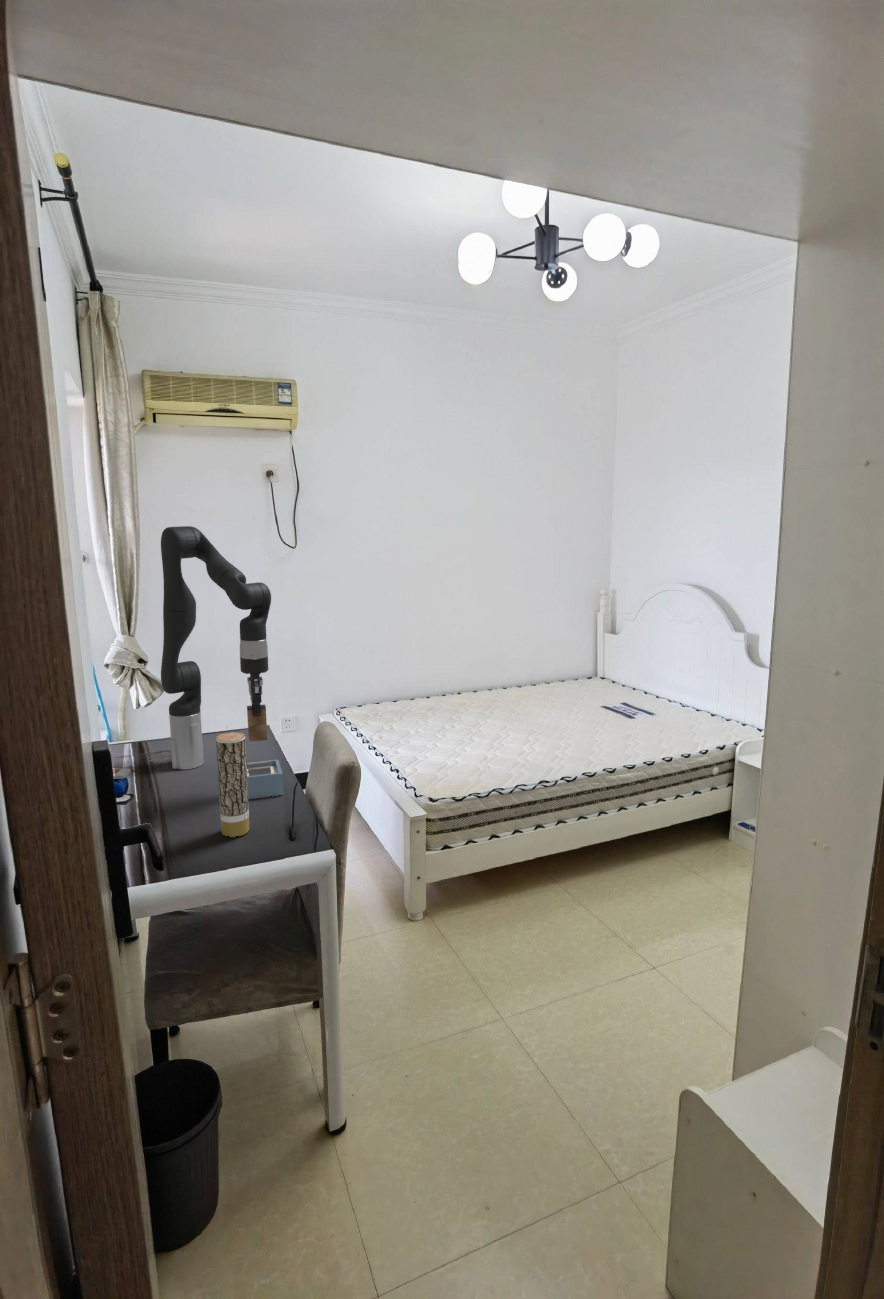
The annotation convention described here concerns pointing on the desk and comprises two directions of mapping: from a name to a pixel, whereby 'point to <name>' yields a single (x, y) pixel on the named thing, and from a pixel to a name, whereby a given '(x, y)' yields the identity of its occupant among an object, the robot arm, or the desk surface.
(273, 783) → the blue open box
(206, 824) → the desk surface
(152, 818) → the desk surface
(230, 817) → the bark log cylinder
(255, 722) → the wooden plank
